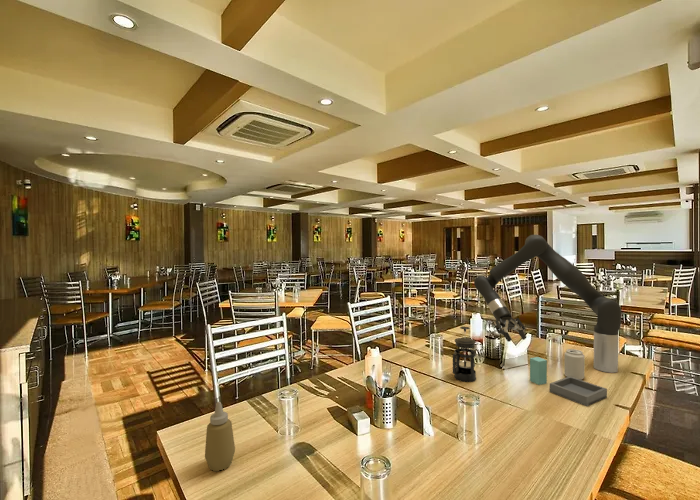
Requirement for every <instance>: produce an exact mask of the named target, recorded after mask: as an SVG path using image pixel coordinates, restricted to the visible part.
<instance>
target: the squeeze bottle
mask: <svg viewBox="0 0 700 500" xmlns="http://www.w3.org/2000/svg"><path fill="white" fill-rule="evenodd" d="M223 409H224V407H223V404H222V403H221V401H217V402H216V403H215V409H214V413H212V414H211V415H210V416H209V417H210V418H209V419H210V420H209V423H208V424H207V426H206V435H205V448H204V449H205V450H204V459H205V462H206V463H207V465H208V468H209V469H210V471H212V470H213V471H212V472H220V471H219V470H222V471H224V470H227V469H228V468H229V467H230V466H231V464H232V462H233V459H234V456H235V451H236V444H235V439H234V438H235V437H234V431H233V423H232V421H231V420H230V418H229V415H228V414H229V413H228V411H227V412H226V411H224V410H223ZM227 467H228V468H227ZM223 469H224V470H223Z"/></svg>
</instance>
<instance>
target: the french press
mask: <svg viewBox="0 0 700 500" xmlns="http://www.w3.org/2000/svg"><path fill="white" fill-rule="evenodd" d="M459 329H461V330H463V332H464V333H466V332H467V330H470V329H471V328H470V327H469V326H466V325H465V326H460V327H459ZM454 342H455V346H456V347H458V348H455V349H454V353H452V374H454V375H453V377H454V379H455V380H456V381H458V382H461V383H473V382H476V381H477V374H476V373H477V372H476V370H475V367H476V363H475V357H476V355H477V353H476V350H473V348H475V344H476V342H477V341H476V340H475V339H473V338H468V337H457V338H455V339H454ZM461 352H465V353H467V352H468V353H470V354H462V353H461ZM460 358H463V359H464V360H461V359H460ZM466 359H470V361H469V360H466Z"/></svg>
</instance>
